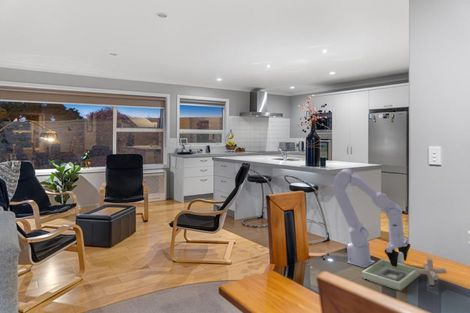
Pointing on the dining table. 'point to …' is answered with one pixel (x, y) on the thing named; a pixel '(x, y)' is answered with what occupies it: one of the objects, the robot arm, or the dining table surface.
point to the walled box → (390, 274)
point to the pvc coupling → (400, 258)
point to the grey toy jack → (431, 271)
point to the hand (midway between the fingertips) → (399, 263)
